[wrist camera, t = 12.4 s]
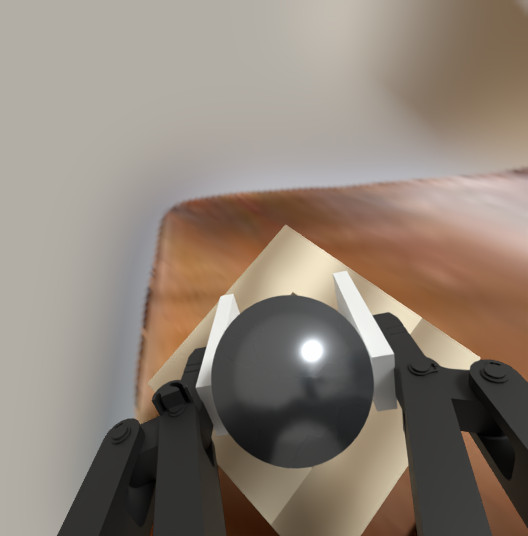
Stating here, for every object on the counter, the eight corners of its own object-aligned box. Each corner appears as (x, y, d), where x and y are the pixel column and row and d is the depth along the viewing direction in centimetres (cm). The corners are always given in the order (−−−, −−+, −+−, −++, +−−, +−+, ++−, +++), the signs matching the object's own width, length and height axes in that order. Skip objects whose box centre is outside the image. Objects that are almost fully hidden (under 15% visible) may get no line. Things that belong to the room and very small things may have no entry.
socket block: (438, 361, 22) (480, 357, 16) (322, 526, 20) (325, 587, 14) (292, 255, 27) (285, 224, 21) (185, 380, 25) (147, 383, 19)
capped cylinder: (356, 368, 20) (408, 364, 9) (310, 430, 19) (302, 513, 8) (297, 320, 21) (278, 266, 10) (253, 376, 21) (180, 382, 10)
